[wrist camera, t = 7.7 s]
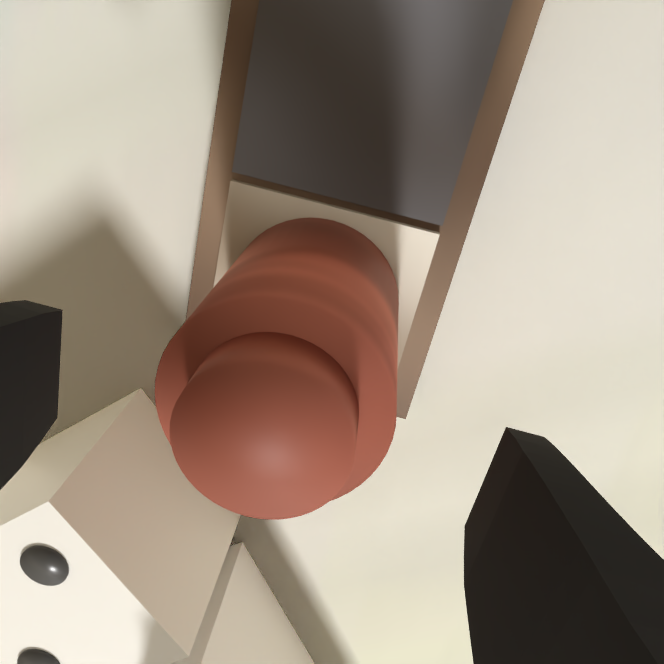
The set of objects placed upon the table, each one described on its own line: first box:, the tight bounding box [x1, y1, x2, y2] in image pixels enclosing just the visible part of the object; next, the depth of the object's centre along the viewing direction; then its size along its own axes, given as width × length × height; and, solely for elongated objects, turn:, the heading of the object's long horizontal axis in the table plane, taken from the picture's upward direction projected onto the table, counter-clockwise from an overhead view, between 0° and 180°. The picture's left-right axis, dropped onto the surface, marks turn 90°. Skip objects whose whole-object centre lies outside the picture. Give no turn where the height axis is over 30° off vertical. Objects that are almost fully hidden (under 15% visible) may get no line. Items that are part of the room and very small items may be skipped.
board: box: [186, 0, 545, 419], centre depth 13 cm, size 15×6×1 cm, turn 167°
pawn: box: [155, 217, 399, 519], centre depth 12 cm, size 4×4×6 cm
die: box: [0, 388, 241, 664], centre depth 17 cm, size 5×5×5 cm
